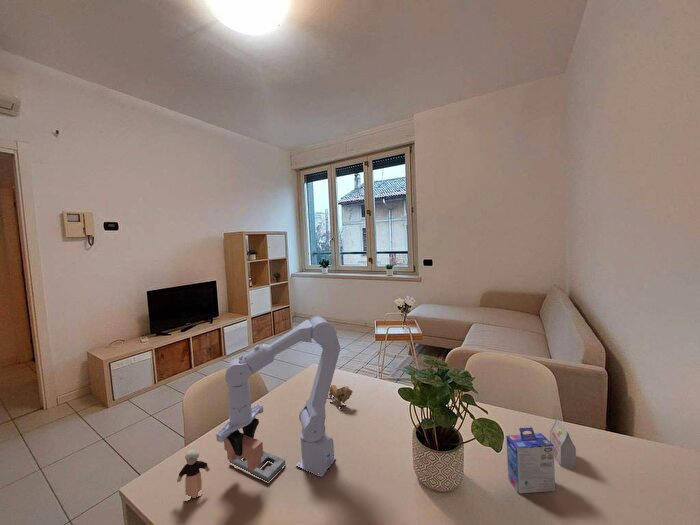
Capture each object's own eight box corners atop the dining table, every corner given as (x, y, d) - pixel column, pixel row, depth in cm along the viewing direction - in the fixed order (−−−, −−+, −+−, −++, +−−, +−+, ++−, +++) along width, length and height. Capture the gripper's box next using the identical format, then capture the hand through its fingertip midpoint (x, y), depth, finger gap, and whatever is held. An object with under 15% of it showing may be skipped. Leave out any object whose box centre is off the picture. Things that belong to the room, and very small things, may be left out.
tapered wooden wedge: (264, 464, 78) (262, 441, 78) (255, 472, 75) (254, 448, 75) (233, 451, 84) (232, 430, 83) (225, 458, 81) (223, 436, 81)
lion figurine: (355, 407, 114) (354, 385, 114) (345, 413, 110) (344, 391, 110) (330, 395, 124) (329, 375, 124) (321, 400, 121) (320, 379, 120)
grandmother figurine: (179, 508, 73) (175, 461, 72) (178, 498, 76) (174, 453, 75) (212, 492, 77) (208, 447, 76) (209, 482, 80) (206, 440, 80)
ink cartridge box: (541, 474, 78) (541, 423, 77) (556, 491, 72) (556, 437, 71) (505, 476, 78) (505, 426, 77) (518, 494, 72) (517, 440, 71)
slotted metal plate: (285, 466, 85) (285, 459, 85) (268, 484, 79) (268, 477, 79) (247, 450, 93) (247, 444, 93) (229, 465, 87) (229, 459, 86)
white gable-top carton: (564, 451, 86) (564, 419, 85) (575, 468, 79) (575, 434, 79) (550, 449, 87) (550, 418, 86) (560, 466, 80) (560, 432, 80)
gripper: (249, 388, 87) (253, 430, 88) (206, 414, 74) (211, 463, 75) (267, 392, 83) (270, 436, 84) (225, 421, 71) (229, 472, 72)
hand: (243, 450), depth 79 cm, fingers closed on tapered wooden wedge, 3 cm apart
